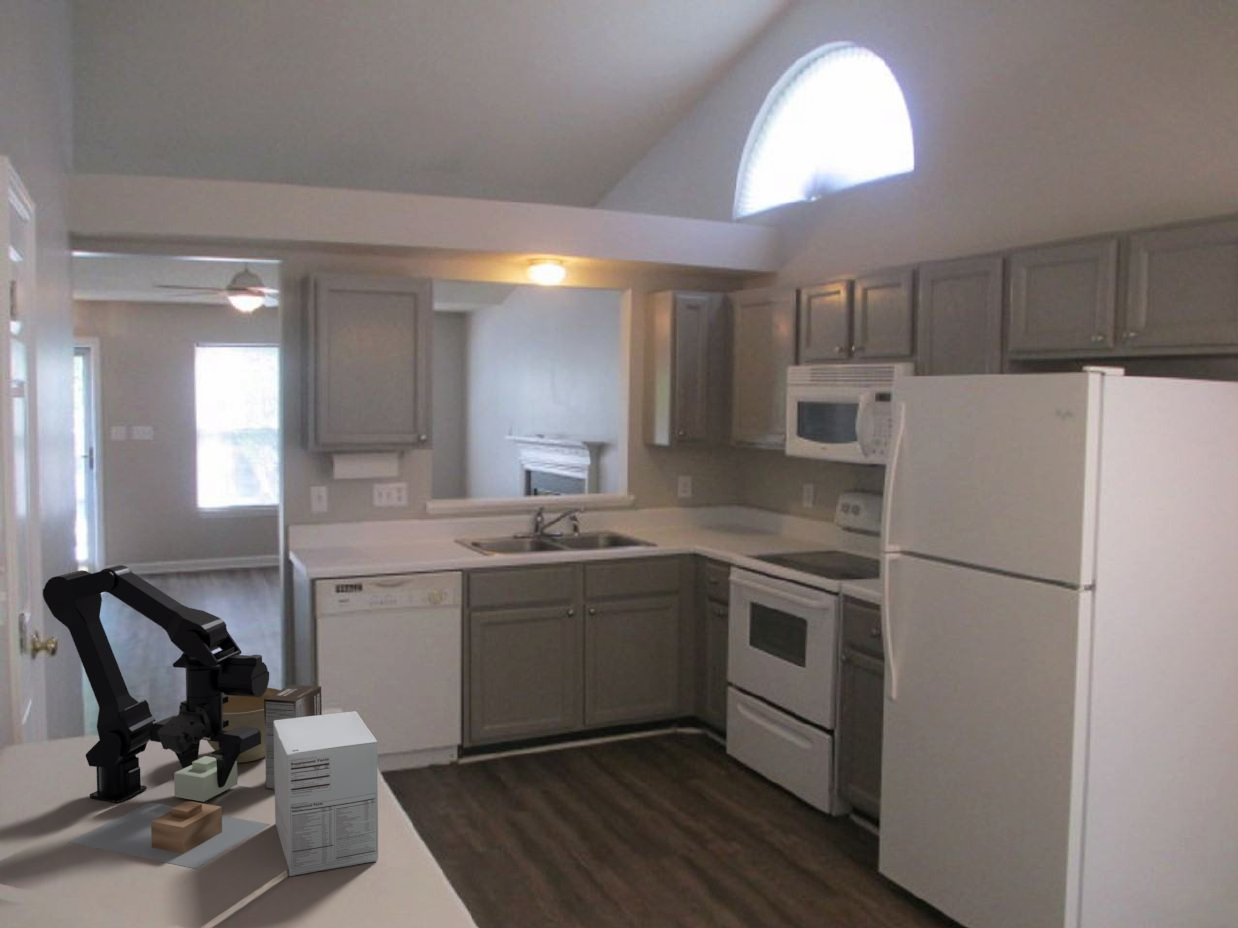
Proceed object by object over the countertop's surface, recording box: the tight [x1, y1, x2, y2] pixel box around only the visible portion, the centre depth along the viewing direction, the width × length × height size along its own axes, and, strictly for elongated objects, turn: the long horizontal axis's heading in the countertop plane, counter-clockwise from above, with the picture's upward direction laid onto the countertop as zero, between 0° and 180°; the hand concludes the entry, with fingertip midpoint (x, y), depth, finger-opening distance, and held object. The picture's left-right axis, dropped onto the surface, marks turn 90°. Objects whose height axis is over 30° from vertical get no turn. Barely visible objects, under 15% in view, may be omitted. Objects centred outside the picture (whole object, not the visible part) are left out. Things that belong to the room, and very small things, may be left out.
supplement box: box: [273, 710, 379, 877], centre depth 155 cm, size 17×13×18 cm
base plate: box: [68, 801, 271, 870], centre depth 157 cm, size 24×16×1 cm, turn 70°
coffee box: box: [264, 684, 323, 790], centre depth 181 cm, size 9×6×16 cm
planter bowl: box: [206, 687, 281, 764], centre depth 194 cm, size 16×16×11 cm
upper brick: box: [173, 755, 238, 803], centre depth 172 cm, size 8×6×5 cm
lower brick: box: [151, 800, 223, 854], centre depth 155 cm, size 8×6×5 cm
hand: (206, 784), depth 172 cm, fingers closed on upper brick, 6 cm apart
